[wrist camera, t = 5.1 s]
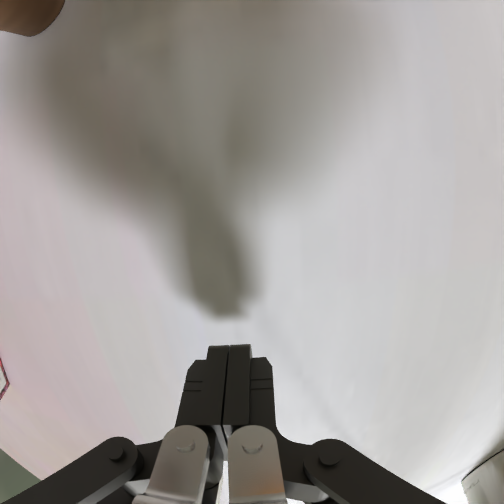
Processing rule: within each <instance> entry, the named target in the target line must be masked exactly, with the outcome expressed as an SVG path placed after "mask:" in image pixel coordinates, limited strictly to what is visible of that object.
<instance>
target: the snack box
mask: <svg viewBox="0 0 504 504" xmlns="http://www.w3.org/2000/svg"><path fill="white" fill-rule="evenodd" d="M8 387H9V382H8V380H7V377H6V374H5V372H4V369H3V366H2V363H1V360H0V400H1V398H2V397H3V395H4V394H5V392H6V390H7V389H8Z"/></svg>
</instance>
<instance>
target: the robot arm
mask: <svg viewBox="0 0 504 504" xmlns="http://www.w3.org/2000/svg"><path fill="white" fill-rule="evenodd" d="M223 461H228V479H229V504H288V503H287V500H286V498H290V499H295V500H300V501H303V502H304V503H305V504H446V503H444V502H443V501H441V500H439V499H437V498H435V497H433V496H431V495H429V494H428V493H426V492H424V491H422V490H420V489H419V488H417V487H415V486H413V485H412V484H410V483H408V482H406V481H405V480H403V479H401V478H400V477H398V476H396V475H395V474H393V473H391V472H390V471H388V470H386V469H385V468H383V467H382V466H380V465H378V464H377V463H375V462H374V461H372V460H371V459H369V458H367V457H366V456H364V455H363V454H361V453H360V452H358V451H357V450H355V449H354V448H352V447H351V446H349V445H348V444H347V443H345V442H343V441H340V440H337V439H324V440H320V441H318V442H316V443H314V444H313V445H306V444H301V443H296V442H292V441H290V440H288V439H286V438H284V437H283V436H282V435H281V434H280V433H279V431H278V430H277V427H276V420H275V404H274V388H273V373H272V366H271V364H270V363H269V361H268V360H267V358H266V357H260V358H252V351H251V344H242V345H230V346H229V345H222V346H209V348H208V353H207V358H206V360H195V361H194V363H193V364H192V365H191V366H190V368H189V369H188V371H187V376H186V380H185V384H184V389H183V393H182V397H181V402H180V406H179V411H178V415H177V420H176V424H175V427H174V428H173V429H171V430H170V431H169V432H168V433H167V434H166V435H165V436H164V438H163V439H162V440H160V441H157V442H153V443H147V444H141V445H135V444H134V443H133V442H132V441H131V440H129V439H127V438H124V437H113V438H110V439H107V440H106V441H104V442H103V443H101V444H100V445H98V446H97V447H95V448H93V449H92V450H90V451H89V452H87V453H86V454H84V455H83V456H81V457H80V458H78V459H76V460H75V461H73V462H72V463H70V464H69V465H67V466H65V467H64V468H62V469H61V470H59V471H57V472H56V473H54V474H52V475H51V476H49V477H47V478H46V479H44V480H42V481H41V482H39V483H37V484H35V485H34V486H32V487H30V488H28V489H27V490H25V491H23V492H22V493H20V494H18V495H16V496H14V497H12V498H10V499H9V500H7V501H5V502H3V503H1V504H219V502H220V496H221V490H222V484H223V475H222V473H223ZM461 484H462V486H463V489H464V493H465V494H466V497H467V500H468V503H469V504H504V450H503V451H502V452H500V453H499V454H497V455H495V456H494V457H492V458H491V459H489V460H488V461H487V462H485V463H484V464H482V465H481V466H480V467H478V468H477V469H476V470H474V471H473V472H472V473H471V474H469V475H468V476H467V477H466V478H465V479H464V480H463V481H462V483H461Z"/></svg>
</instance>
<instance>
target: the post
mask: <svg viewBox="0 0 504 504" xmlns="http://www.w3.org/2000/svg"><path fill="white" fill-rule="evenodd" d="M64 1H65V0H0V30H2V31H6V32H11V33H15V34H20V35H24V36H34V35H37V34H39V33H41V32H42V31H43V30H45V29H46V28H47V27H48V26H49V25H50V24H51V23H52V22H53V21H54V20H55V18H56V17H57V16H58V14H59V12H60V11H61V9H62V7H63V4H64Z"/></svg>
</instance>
